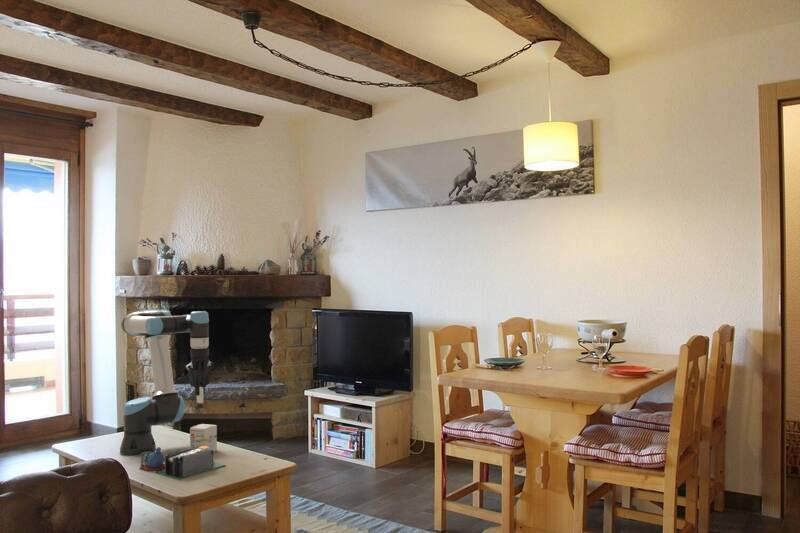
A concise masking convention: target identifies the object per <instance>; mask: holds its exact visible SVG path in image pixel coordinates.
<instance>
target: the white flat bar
mask: <svg viewBox="0 0 800 533" xmlns="http://www.w3.org/2000/svg"><path fill="white" fill-rule="evenodd" d="M204 450H210V448H209V447H207V446H201V447H199V448H197V449H194V450H191V451H188V452H185V453H182V454H180V455H177V456H174V457H171V458H168V459H167V461H169V462H173V458H175V457H179V460H180V456H184V455H188V454H192V453H196V452H200V451H204Z"/></svg>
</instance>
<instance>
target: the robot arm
mask: <svg viewBox="0 0 800 533" xmlns="http://www.w3.org/2000/svg"><path fill="white" fill-rule="evenodd" d="M209 323H210V319H209V312H207V311H206V310H203V311H202V310H201V311H200V310H197V311H191V312H190V314H182V315H172V314H171V313H170V311H167V310H145V311H134V312H130V313H128V314H126V315H125V316H124V317H123V318H122V321H121V329H122V331H123V332H124V333H125V334H127V335H129V336H132V337H144V338H145V342H147V343H148V344H149V352H150V360H151V361H150V362H151V368H152V377H153V386H154V393H153V395H152V396H151V397H152V398H151V397H147V396H146V397H139V398H134V399H132V400H129V401H127V402H125V403H124V406H123V413H122V414H123V436H122V440H121V444H120V447H119V454H121V455H124V456H138V455H141V453H144V452H148V451H149V453H152V452H155V451H156V449H157V447H156V446H157V445H156V441H155V439H154V436H153V434H152V427H153V426H158V425H160V426H161V425H164V424H166V425H167V424H172V423H176V422H179V421H181V420H182V418H183V417H184V415H185V414H184V413H185V407H186V406H185V399H184V398H183V396H181V395H179V392H178V390H176V389H175V384H174V383H175V382H174V376H173V369H172V360H171V353H170V346H169V339H170V338H171V336H172V334H182V333H183V334H184V333H190V336H189V337H190V340H189V341H190V342H189V343H190V345H189V346H190V347H191V348H190V362H189V363H188V364H187V365H186V364H185V366H184V367H185V369H186V371H187V375H188V379H189V383H190V387H192V388H194V389H195V390H194V392H195V393H194V395H195V396H196V403H198V404H203V403H204V395H205V393H206V388H207V386H208V385H209V384H210V379H211V375H212V369H213V367H214V364H215V363H214V362H212V361H210V358H209V355H210V349H209V346H210V345H209V344H210V340H209V338H210V337H209V336H210V335H209V333H210V332H209V331H210V330H209V329H210V328H209V327H210V324H209Z"/></svg>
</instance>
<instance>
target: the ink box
mask: <svg viewBox="0 0 800 533" xmlns="http://www.w3.org/2000/svg"><path fill="white" fill-rule="evenodd" d="M217 428H218V425H217V424H206V423H200V424H197V425H193V426H192V427H190V428H189V440H190V441H189V446H190V447H189V448H191V447H198V448H199V447H201V446H207V447H209V448H210V450H213V453H214V452H216V451H217V450H218V445H217V442H218V441H217V440H218V437H217V436H218V433H217V432H218V429H217Z"/></svg>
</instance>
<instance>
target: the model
mask: <svg viewBox="0 0 800 533" xmlns="http://www.w3.org/2000/svg"><path fill="white" fill-rule="evenodd" d="M161 451H162V448H161V447H159V446H158V447H156V450H155V451H152V452H149V451H148V452H144V453H141V454H140V466H139V468H138V469H139V470H141V471H144V472H150V473H151V472H156V471H159V470H163V469H165V456H164V455H163V453H162V452H161ZM144 455H145V456H144ZM144 457H145V458H144Z"/></svg>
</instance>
